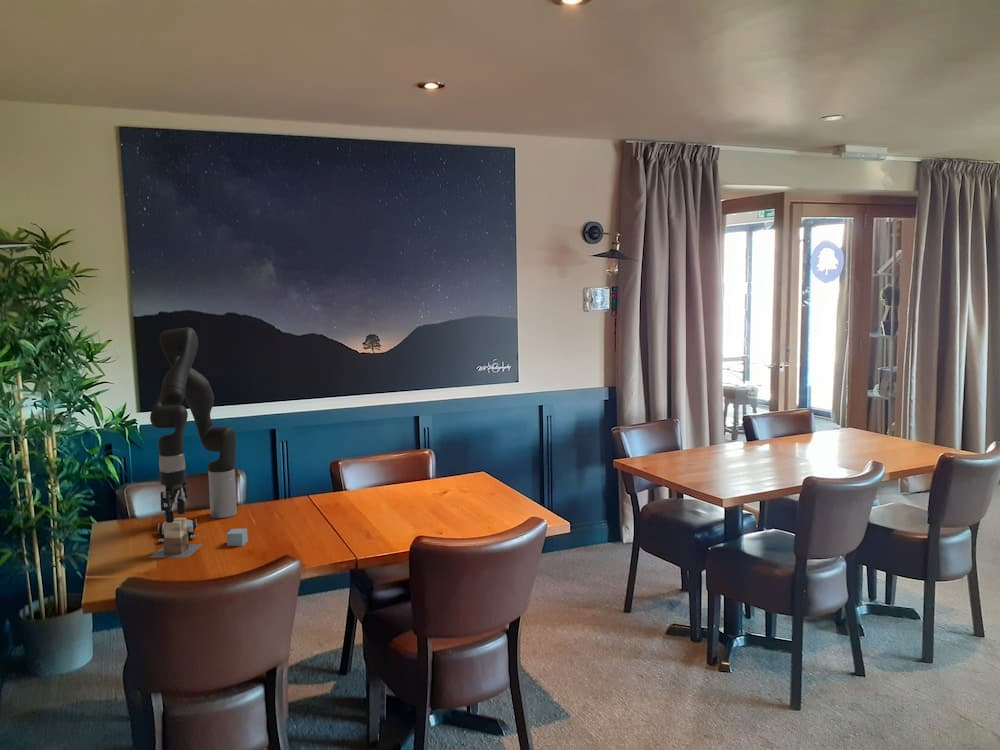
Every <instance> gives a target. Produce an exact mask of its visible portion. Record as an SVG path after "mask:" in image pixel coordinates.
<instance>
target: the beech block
mask: <svg viewBox="0 0 1000 750" xmlns="http://www.w3.org/2000/svg"><path fill="white" fill-rule="evenodd" d="M186 520H187V517H174V522H172V523H167V522H166V520H165V521H164V522H163V523H164V538H181V537H182V536H184V535H185V534H186V533H187V525H186Z"/></svg>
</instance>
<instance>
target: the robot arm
mask: <svg viewBox="0 0 1000 750" xmlns="http://www.w3.org/2000/svg"><path fill="white" fill-rule="evenodd" d="M159 344H160V347H161V350H162V352H163V354H164V357H165V358H166V360H167V362H168V364H169V366H170V368H169V370H168V371H167V372H166V374H165V375H164V378H163V380H162V384H161V389H160V390H161V391H160V393H159V394H160V395H159V396H158V399H157V401H156V402H155V403H154V405H153V407H152V410H151V411H150V416H149V419H150V423H151V425H152V426H153V428H156V429H174V432H172V433H168V434H165V435H162V436H160V437H159V439H158V451H159V452H158V453H159V454H158V456H159V459H158V467H159V480H160V483H159V484H161V485H162V486H165V491H161V492H160V511H161V512H165V513H164V514H165V521H166V522H167V523H172V522H174V518H175V516H174V515H175V514H174V508H175V505H176V510H177V515H184V514H185V513H186V500H187V499H188V497H189V495H188V485H187V484H188V483H187V482H188V481H187V470H186V459H185V458H186V457H185V450H184V449H185V448H184V435H185V429H186V425H187V421H188V417H189V416H188V410H187V408H186V407H185V406H184V405H182V403H183V402H184V400H185V401H186V403H187V406H188V407H189V410H190V412H191V415H192V417H193V419H194V422H195V426H196V429H197V432H198V436H199V439H200V442H201V444H202V446H203V448H204V449H205V450H206V451H208V452H215V453H216V452H219V457H218V458H217V459H215V460H212V461H210V462H208V465H207V470H208V471H207V473H208V490H209V491H208V492H209V512H210V517H211V518H213V519H224V518H226V519H227V518H230V517H234V516H236V515H237V514H238V512H237V511H238V509H237V486H236V469H235V468H236V467H235V466H236V465H235V464H236V460H237V436H236V432H235V430H234V429H233V427H229V426H216V425H215V424H214V423H213V421H212V418H211V412H212V409H213V407H214V402H215V395H214V394H215V393H214V392H213V390H212V387H211V384H210V382H209V381H208V379H207V378H206V377H205V376H204V375H203V374H202V373H200V372H199V371H198V370H196V369H194V368H193V367H192V366H193V364H194V360H195V358H196V356H197V353H198V349H199V338H198V334H197V333H196V331H195V330H194V328H191V327H181V328H180V327H179V328H174V329H173V328H172V329H168V330H163V331H162V332H161V333H160V334H159Z"/></svg>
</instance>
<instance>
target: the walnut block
mask: <svg viewBox="0 0 1000 750" xmlns="http://www.w3.org/2000/svg"><path fill="white" fill-rule="evenodd" d="M162 543H163V547H164V554H182V553H183V552H184V551H186V550H187V549H188V548H189V538H188V533H186V534H185V535H184V536H182V537H181V538H163V542H162Z"/></svg>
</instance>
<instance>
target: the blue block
mask: <svg viewBox="0 0 1000 750" xmlns="http://www.w3.org/2000/svg"><path fill="white" fill-rule="evenodd" d="M248 535H249V534H248V528H231V529H230V530H229V531H228V532H227V533H226V544H227V545H226V546H227V547H242V549H243V548H245V546H246V545H248V541H249V538H248Z"/></svg>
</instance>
